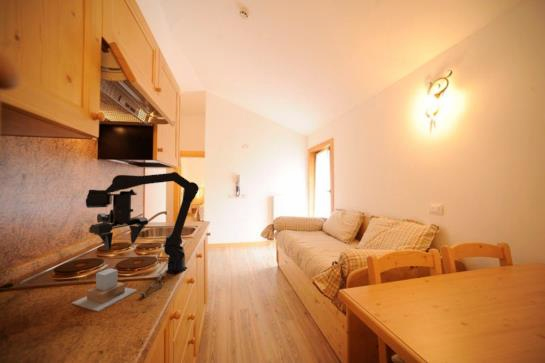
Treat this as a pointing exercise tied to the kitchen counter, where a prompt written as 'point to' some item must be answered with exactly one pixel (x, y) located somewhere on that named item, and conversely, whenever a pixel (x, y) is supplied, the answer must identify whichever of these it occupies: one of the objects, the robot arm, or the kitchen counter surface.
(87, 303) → the build mat
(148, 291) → the wooden post with brackets
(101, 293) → the plinth
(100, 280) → the grey block
